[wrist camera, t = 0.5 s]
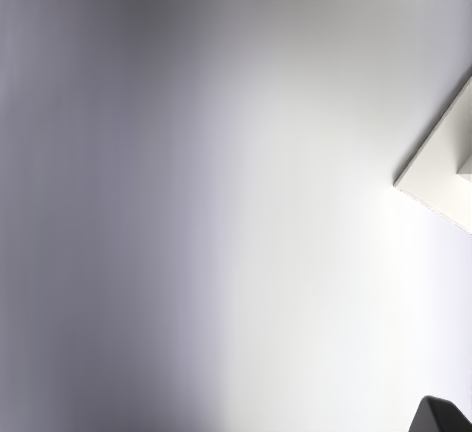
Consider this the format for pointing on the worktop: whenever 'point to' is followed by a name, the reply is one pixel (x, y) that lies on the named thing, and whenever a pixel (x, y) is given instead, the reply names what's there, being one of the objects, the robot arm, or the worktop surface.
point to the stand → (445, 165)
